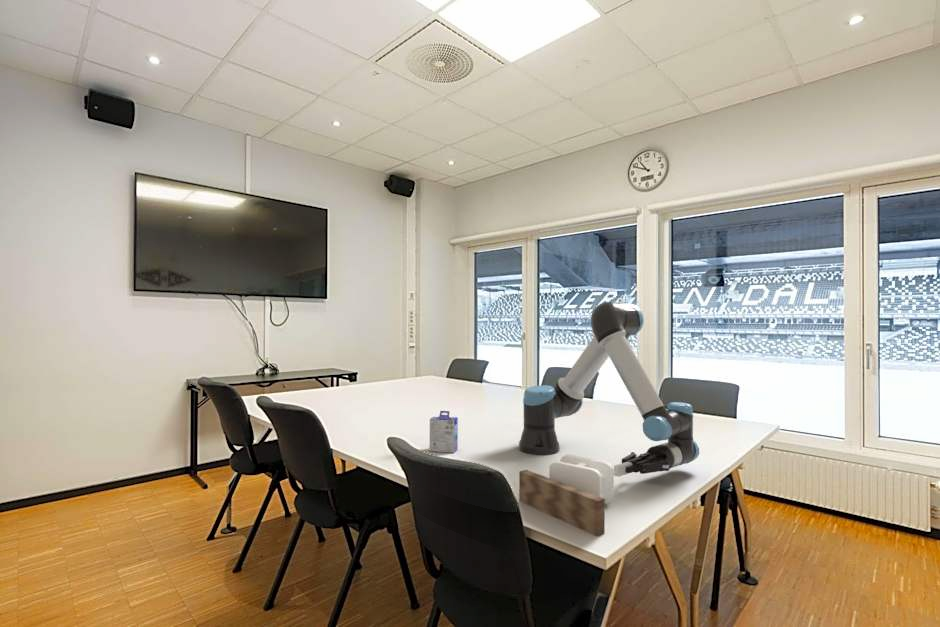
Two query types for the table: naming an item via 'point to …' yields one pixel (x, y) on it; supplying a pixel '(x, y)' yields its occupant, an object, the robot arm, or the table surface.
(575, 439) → the table surface
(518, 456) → the table surface
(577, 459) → the tooth protector case
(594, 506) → the walnut board
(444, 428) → the ink cartridge box
